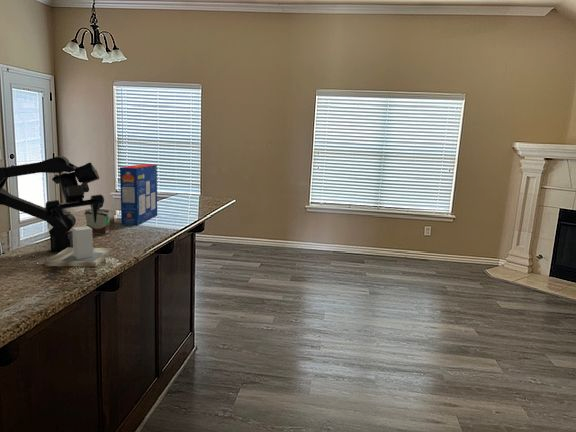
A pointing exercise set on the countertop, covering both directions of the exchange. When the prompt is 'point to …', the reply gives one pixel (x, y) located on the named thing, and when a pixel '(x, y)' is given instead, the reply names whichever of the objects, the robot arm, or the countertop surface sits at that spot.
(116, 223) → the countertop surface
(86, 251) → the grey post
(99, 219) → the food container
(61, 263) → the board
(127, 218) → the pasta box
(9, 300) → the countertop surface
